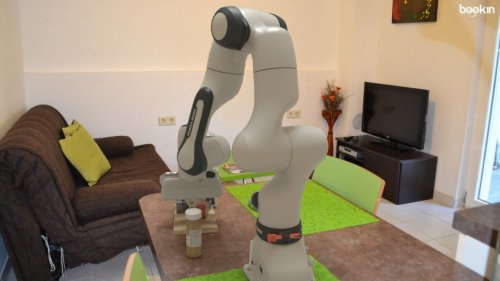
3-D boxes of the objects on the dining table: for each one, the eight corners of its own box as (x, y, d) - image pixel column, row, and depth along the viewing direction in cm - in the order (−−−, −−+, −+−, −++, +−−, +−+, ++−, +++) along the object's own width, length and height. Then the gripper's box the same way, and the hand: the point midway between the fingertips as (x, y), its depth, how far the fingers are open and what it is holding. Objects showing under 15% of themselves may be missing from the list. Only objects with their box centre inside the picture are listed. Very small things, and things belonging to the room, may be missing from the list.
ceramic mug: (279, 206, 150) (279, 187, 148) (267, 214, 143) (267, 193, 142) (255, 201, 156) (255, 182, 154) (243, 207, 149) (243, 188, 148)
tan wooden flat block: (221, 231, 129) (221, 216, 128) (173, 235, 126) (173, 219, 125) (215, 204, 151) (215, 191, 150) (174, 206, 149) (174, 193, 147)
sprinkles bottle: (186, 250, 117) (185, 207, 114) (202, 250, 117) (201, 207, 114) (185, 258, 113) (184, 214, 109) (202, 258, 113) (201, 213, 110)
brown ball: (193, 209, 141) (193, 200, 140) (183, 210, 141) (182, 200, 140) (193, 205, 145) (192, 196, 144) (182, 206, 144) (182, 197, 143)
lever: (206, 218, 134) (206, 204, 133) (189, 218, 135) (189, 203, 134) (215, 200, 150) (215, 188, 149) (200, 200, 150) (200, 187, 149)
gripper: (159, 175, 126) (160, 216, 129) (223, 172, 130) (223, 212, 133) (159, 169, 132) (161, 208, 135) (221, 167, 136) (221, 205, 139)
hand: (192, 210), depth 134 cm, fingers closed
